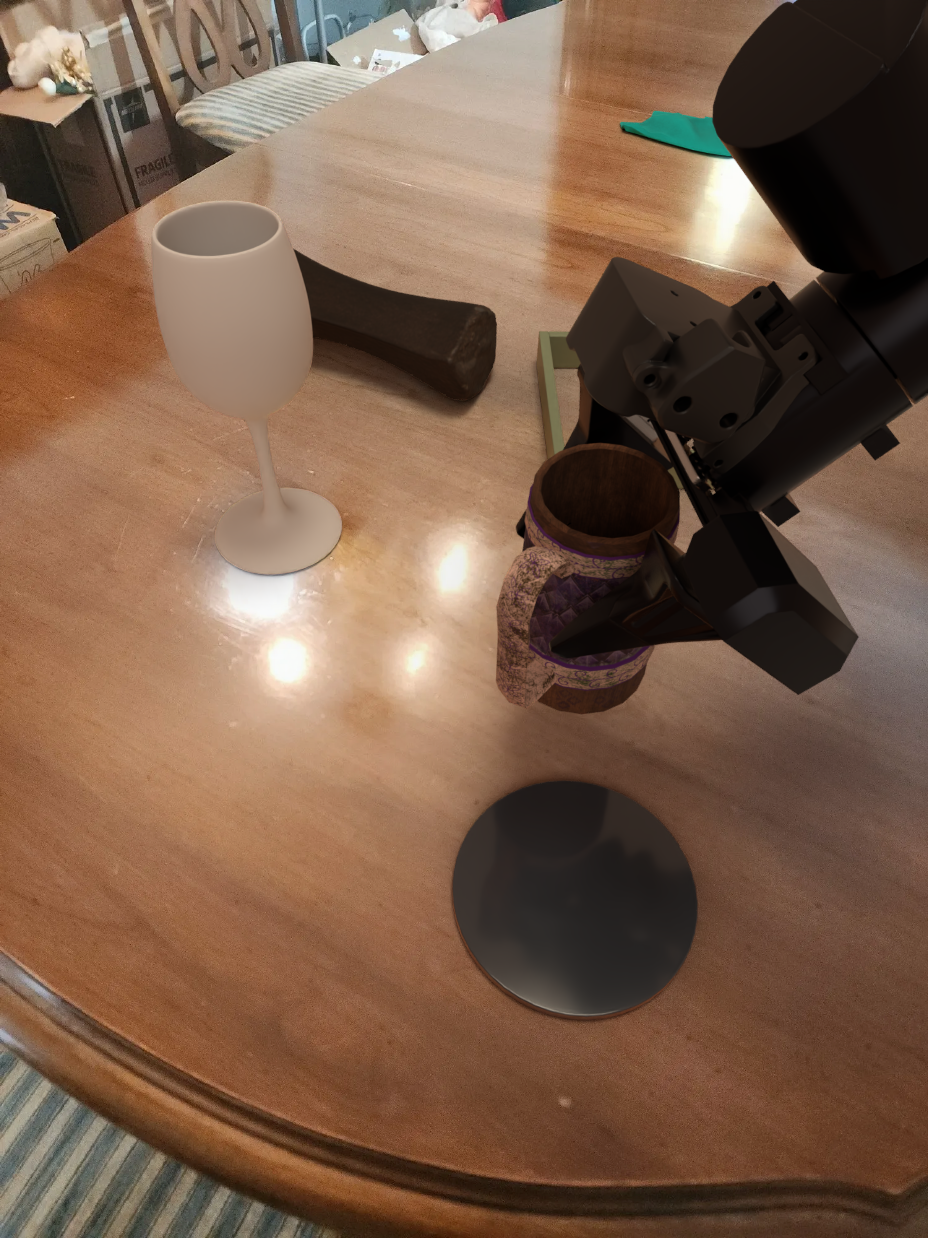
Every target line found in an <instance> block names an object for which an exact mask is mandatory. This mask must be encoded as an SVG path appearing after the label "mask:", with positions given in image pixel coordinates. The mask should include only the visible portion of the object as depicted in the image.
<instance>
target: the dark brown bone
mask: <svg viewBox="0 0 928 1238" xmlns="http://www.w3.org/2000/svg"><path fill="white" fill-rule="evenodd" d="M293 249H294V252H295V255H296V258H297V261H298V264H299V267H300V270H301V274H302V277H303V281H304V284H305V288H306V292H307V297H308V302H309V307H310V314H311V322H312V333H313V339H317V340H323V341H326V342H327V341H328V342H330V343H335V344H339V345H341V346H345V347H348V348H351V349H354V350H357V351H360V352H363V353H365V354H367V355H370V356H372V357H374V358H377V359H378V360H382V361H383V362H386V363H387V364H390V365H392V366H394V367H396V368H397V369H399V370H401V371H403V372H404V373H406V374H408V375H410V376H412V377H413V378H415V379H417V380H419V381H420V382H422V383H423V384H425V385H427V386H429V387H430V388H432V389H433V390H434V391H435V392H438V393H439V394H441V395H443V396H445V397H447V398H448V399H450V400H453V401H454V400H455V401H468V400H471V399H473V398H474V397H475V396H478V394H479V393H481V391H482V389H483V388H484V387H485V385H486V383H487V381H488V379H489V377H490V375H491V373H492V371H493V369H494V364H495V362H496V355H497V338H498V336H497V334H498V324H497V315H496V313H495V312H494V311H493V310H492V309H491V308H490V307H488V306H486V305H483V304H478V303H473V302H465V301H457V300H451V299H443V298H434V297H430V296H429V297H428V296H423V295H417V294H410V293H405V292H401V291H396V290H392V289H388V288H384V287H381V286H377V285H373V284H371V283H368V282H366V281H365V282H364V281H362V280H359V279H357V278H354V277H351V276H348V275H346V274H344V273H342V272H339V271H337V270H334V269H333V268H330V267H328V266H325V265H323V264H322V263H320V262H318V261H316V260H314V259H312V258H311V257H309V256H307V255H306V254H303V253H302V252H300V251H298V250H296V248H294V247H293Z"/></svg>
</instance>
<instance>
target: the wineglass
mask: <svg viewBox="0 0 928 1238" xmlns="http://www.w3.org/2000/svg"><path fill="white" fill-rule="evenodd" d="M293 248H294V246H293V244H292V241H291V239H290V236H289V233H288V231H287V229H286V226H285V223H284V222H283V220H282V219H281V217H280V216H279V214H277V213H276V212H275V211H274V210H272V209H271V208H269V207H267V206H264V205H261V204H259V203H255V202H250V201H244V200H234V199H228V200H227V199H219V200H218V199H217V200H208V201H203V202H196V203H193V204H188V205H186V206H182V207H180V208H177V209H175V210H173V211H171V212H169V213H167V214H166V215H164V216H163V217H161V218H160V219H159V220H158V221H157V222H156V223H155V225H154V226H153V229H152V231H151V236H150V251H151V252H150V253H151V254H150V255H151V275H152V276H151V277H152V289H153V297H154V305H155V311H156V316H157V322H158V326H159V330H160V333H161V337H162V340H163V345H164V347H165V350H166V353H167V356H168V358H169V361H170V363H171V367H172V368H173V371H174V372H175V375H176V376H177V378H178V379H179V381H180V383H181V385H183V387H184V388H185V389H186V391H187V392H188V393H189V394H190V395H191V396H192V397H193V398H195V400H196V401H198V402H199V403H200V404H202V405H204V406H205V407H207V408H208V409H210V410H212V411H213V412H215V413H218V414H220V415H222V416H225V417H229V418H233V419H237V420H243V421H244V422H245V424H246V426H247V429H248V431H249V435H250V437H251V440H252V444H253V447H254V451H255V455H256V461H257V465H258V472H259V476H260V482H261V490H260V491H257V492H254V493H251V494H248V495H247V496H244V497H242V498H241V499H239V500H238V501H236V502H235V503H233V504H232V505H230V506H229V507H228V509H226V511H224V513H223V514H222V515H221V516H220V519H219V520H218V522H217V524H216V527H215V531H214V542H215V546H216V548H217V550H218V552H219V554H220V555H221V556H222V558H224V560H226V561H227V562H228V563H230V564H231V565H232V566H233V567H236V568H238V569H240V570H242V571H244V572H248V573H253V574H259V575H269V576H270V575H284V574H290V573H294V572H298V571H301V570H304V569H306V568H309V567H311V566H313V565H315V564H316V563H318V562H320V561H321V560H322V559H324V558H325V557H327V556H328V555H329V554H330V553H331V552H332V551H333V549H334V548H335V546H337V544H338V542H339V540H340V537H341V536H342V531H343V522H342V517H341V513H340V512H339V510H338V508H337V507H336V506H335V505H334V504H333V502H331V500H329V499H327V498H325V497H324V496H323V495H321V494H319V493H316V492H314V491H311V490H308V489H304V488H299V487H298V488H297V487H280V485H279V482H278V478H277V474H276V470H275V464H274V461H273V455H272V449H271V443H270V436H269V418H270V416H271V415H273V414H275V413H278V412H280V411H281V410H283V409H284V408H285V407H286V406H288V405H289V404H290V403H291V402H292V401H293V400H294V398H295V397H296V396H297V395H298V394H299V393H300V392H301V390H302V388H303V386H304V385H305V384H306V381H307V379H308V377H309V375H310V371H311V367H312V362H313V359H314V358H313V357H314V338H313V333H312V322H311V314H310V307H309V302H308V297H307V292H306V288H305V284H304V281H303V277H302V274H301V270H300V267H299V264H298V261H297V258H296V255H295V252H294V249H295V248H294V249H293Z"/></svg>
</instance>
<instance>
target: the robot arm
mask: <svg viewBox="0 0 928 1238" xmlns="http://www.w3.org/2000/svg"><path fill="white" fill-rule="evenodd" d="M712 123H713V125H714V128H715V131H716V134H717V136H718V137H719V139H720V140H721V141H722V143H723V144H724V146H725V147H726V148H727V150H728V151H729V153H730V154H731V156H730V157H732V158H733V160H734V161H735V163H736V164H737V165H738V167H739V169H740V170H741V171H742V173H743V174H744V175H745V177H746V178H747V179H748V181H749V183H750V184H751V185H752V187H753V189H754V190H755V191H756V192H757V194H758V195H759V197H760V198H761V199H762V200H763V202H764V204H765V205H766V206H767V208H768V209H769V211H770V212H771V214H772V215H773V217H774V218H775V220H776V221H777V222H778V223H779V224H780V226H781V228H782V229H783V230H784V232H785V233H786V235H787V236H788V238H789V239H790V240H791V242H792V244H793V245H794V246H795V247H796V249H797V250H798V252H799V253H800V254H801V256H802V257H803V259H804V260H805V261H806V262H807V263H808V264H809V265H810V266H812V267H813V268H816V269H817V270H820V271H822V272H821V273H820V274H819V275H817V276H816V277H815V279H816V280H815V279H812V280H811V281H810V282H809V283H807V284H806V285H805V286H803V287H802V288H801V289H800V290H799V291H798V292H797V293H796V294H794V295H793V296H791V297H790V298H788V296H787V295H786V294H785V293H784V291H783V290H782V289H781V288H780V287H779V286H778V284H777V283H776V282H775V280H773V281H772V282H770V283H769V284H768V285H767V286H766V285H758V286H757V287H754V288H753V289H752V290H751V291H749V292H748V293H747V294H746V295H745V296H744V297H742V298H741V299H740V300H739V301H738V302H735V303H734V304H732V305H730V306H729V305H726V304H725V303H723V302H721V301H719V300H716V299H714V298H713V297H711V296H709V295H708V294H707V293H705V292H703V291H701V290H699V289H698V288H695V287H693V286H691V285H689V284H686V283H684V282H682V281H680V280H677V279H675V278H672V277H670V276H668V275H665V274H663V273H660V272H659V271H656V270H653V269H651V268H648V267H647V266H644V265H641V264H640V263H637V262H635V261H632V260H630V259H627V258H624V257H621V256H613V257H612V258H611V259H610V260H609V262H608V264H607V266H606V267H605V269H604V271H603V273H602V275H601V276H600V278H599V280H598V282H597V283H596V284H595V287H594V289H592V291H591V293H590V295H589V297H588V298H587V300H586V302H585V304H584V305H583V307H582V308H581V310H580V312H579V314H578V316H577V318H576V319H575V321H574V323H573V325H572V326H571V328H570V329H569V331H568V332H569V333H568V335H567V336H566V342H567V345H568V347H569V349H570V350H572V351H575V352H576V354H577V356H578V358H579V361H580V364H579V367H578V368H577V371H576V374H577V375H576V376H577V378H578V381H579V397H578V398H579V399H578V400H579V401H578V402H579V405H578V418H577V422H576V425H575V426H574V428H573V430H572V432H571V434H570V436H569V437H568V439H567V441H566V443H565V444H564V449H563V450H565V449H568V448H571V447H574V446H577V445H583V444H593V443H606V444H615V445H622V446H625V447H628V448H631V449H634V450H638V451H641V452H643V453H644V454H646V455H648V456H649V457H651V458H653V459H654V460H656V461H658V462H659V463H661V464H662V465H663V466H664V468H665V469H666V470H667V471H668V470H669V469H671V468H674V470H675V472H676V474H677V476H678V478H679V480H680V482H681V484H682V486H683V488H684V489H683V490H684V491H685V494H686V496H687V498H688V500H689V502H690V504H691V506H692V508H693V510H694V512H695V514H696V516H697V518H698V520H699V521H700V524H701V526H702V527H701V528H699V529H697V530H696V531H695V532H694V533H693V534H692V536H691V539H690V542H689V544H688V546H687V549H686V551H684V550H682V549H680V547H678V546H677V545H676V544H675V543H674V544H673V543H672V542H671V541H669V540H668V539H667V538H666V537H664V536H663V535H662V534H661V533H659V532H658V531H657V530H655V529H653V530H652V532H651V533H650V537H649V540H648V543H647V547H646V550H645V554H644V557H643V560H642V564H641V566H640V568H639V569H638V570H637V571H636V572H635V573H634V574H633V575H631V576H630V577H629V578H627V579H626V580H625V581H623V582H622V583H621V584H619V585H618V586H617V587H615V588H614V589H613V590H612V591H610V592H609V593H608V594H606V595H605V596H604V597H602V598H601V599H600V600H598V601H597V602H596V603H594V604H593V605H592V606H590V607H589V608H588V609H587V610H585V611H584V612H583V613H581V614H580V615H579V616H577V617H576V618H575V619H573V620H572V621H571V622H570V623H569V624H567V625H566V626H565V627H564V628H563V629H562V630H561V631H560V632H559V633H558V634H557V635H556V636H555V637H554V638H553V639H552V640H551V641H550V642H549V647H550V651H551V652H552V653H554V654H556V655H558V656H559V657H561V658H564V659H569V658H576V657H582V656H589V655H595V654H601V653H608V652H614V651H620V650H627V649H633V648H639V647H646V646H653V645H655V646H658V645H667V644H679V643H696V642H697V643H699V642H714V641H715V642H716V641H722V642H723V643H725V644H726V645H727V646H729V647H730V648H731V649H732V650H734V651H735V652H737V653H739V654H740V655H741V656H743V657H744V658H745V659H747V660H749V661H750V662H751V663H753V664H754V665H755V666H757V667H758V668H759V669H761V670H762V671H764V672H765V673H767V674H768V675H769V676H771V677H772V678H774V679H775V680H777V681H778V682H779V683H781V684H782V685H783V686H785V687H786V688H787V689H789V690H790V691H792V692H793V693H794V694H796V695H797V696H799V695H801V694H803V693H805V692H806V691H808V690H810V689H811V688H813V687H815V686H817V685H818V684H820V683H821V682H824V681H825V680H827V679H829V678H830V677H833V676H834V675H836V674H838V673H840V672H841V670H842V669H843V667H844V664H845V663H846V661H847V660H848V657H849V655H850V654H851V652H852V650H853V648H854V646H855V645H856V643H857V641H858V640H859V635H858V633H857V631H856V630H855V628H854V626H853V625H852V624H851V622H850V619H849V618H848V617H847V614H846V613H845V612H844V610H843V609H842V607H841V605H840V604H839V602H838V599H837V598H836V597H835V595H834V593H833V591H832V589H831V588H830V586H829V585H828V583H827V581H826V579H824V577H823V575H822V573H821V572H820V570H819V569H818V567H817V565H815V563H814V562H812V561H811V560H810V559H809V558H808V557H807V556H806V555H805V554H804V553H803V552H802V551H801V550H799V548H797V547H796V545H794V543H792V542H791V541H790V540H789V539H788V538H787V537H786V536H785V535H784V534H783V533H782V532H781V531H779V530H778V529H777V528H779V527H780V526H782V525H783V524H785V523H786V522H788V521H789V520H791V519H792V518H794V517H795V516H797V515H798V514H800V513H801V510H800V508H799V507H798V505H797V503H796V502H795V500H794V499H793V497H792V495H791V494H790V493H792V492H793V491H795V490H796V489H797V488H799V487H800V486H802V485H803V484H805V483H806V482H807V481H809V480H810V479H812V478H814V476H816V475H818V474H819V473H820V472H821V471H823V470H824V469H826V468H827V467H828V466H830V465H832V464H833V463H834V462H836V461H837V460H839V459H840V458H842V457H843V456H845V455H846V454H847V453H849V452H850V451H852V450H853V449H854V448H856V447H858V446H859V445H860V444H861V446H862V447H863V448H864V449H865V451H866V452H867V453H868V454H869V456H870V457H871V458H872V459H873V460H874V461H877V460H879V459H880V458H881V457H883V456H885V455H886V454H887V453H889V452H890V451H892V450H893V449H894V448H896V447H898V446H899V445H900V444H901V442H900V441H899V439H898V438H897V437H896V435H895V434H894V433H893V432H892V430H891V429H890V428H889V426H888V425H889V424H890V423H892V422H893V421H894V420H896V419H897V418H899V417H900V416H902V415H903V414H904V413H906V412H907V411H910V410H911V409H912V408H913V407H914V406H913V405H917V404H919V403H920V402H921V401H923V400H924V399H925V398H927V397H928V0H795V1H793V2H791V1H785V2H783V3H781V4H779V6H777V7H776V8H775V9H774V10H773V11H772V12H771V13H770V14H769V15H768V16H767V17H766V18H765V19H763V21H762V22H761V23H760V25H759V26H758V27H757V28H756V29H754V31H753V32H752V34H751V35H750V36H749V37H748V38H747V40H745V41H744V43H743V44H742V46H741V47H740V48H739V50H738V52H737V53H736V55H735V56H734V57H733V59H732V60H731V62H730V63H729V65H728V67H727V69H726V71H725V72H724V74H723V77H722V79H721V81H720V83H719V84H718V87H717V90H716V94H715V97H714V100H713V103H712ZM691 440H692V441H693V442H692V444H693V445H692V446H691V447H690V446H689V445H688V443H689V442H690V441H691ZM690 450H694V452H693V453H692V452H691V451H690ZM708 479H709V481H710V482H711V485H712V487H713V488H714V493H713V492H712V490H713V489H712V488H711V486H710V485H709V484H708V483H707V482H708ZM761 513H762V514H763V515H762V514H761ZM525 516H526V509H525V510H524V512H523V513H522V515H521V516H520V518H519V520H518V521H517V523H516V524H515V532H516V534H517V536H519V537H520V538H521V539H523V540H524V536H525V528H526V525H525ZM769 520H770V521H771V522H772V523H773V524H772V523H771V522H770V521H769ZM570 524H571V523H569V524H568V525H570ZM568 525H567V526H568ZM774 525H775V526H776V527H777V528H776V527H775V526H774Z"/></svg>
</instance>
